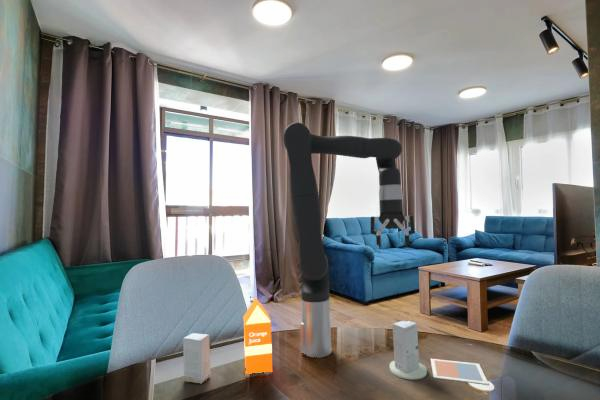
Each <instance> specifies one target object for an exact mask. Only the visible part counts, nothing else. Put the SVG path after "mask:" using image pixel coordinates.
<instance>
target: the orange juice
mask: <svg viewBox="0 0 600 400" xmlns="http://www.w3.org/2000/svg"><path fill="white" fill-rule="evenodd" d="M243 339H244V340H243V341H244V342H243V345H244V369H245V368H246V371H245V375H246V374H252V373H262V372H264V373H265V372H273V346H272V345H273V344H272V343H273V342H272V321H271V318H270V315H269V313H268V311H267V310H266V309H265V308H264V306H263V305H262V303H261V302H260V300H259V299H257V297H256V296H255V298H254V299H253V301H252V302H251V303H250V306H249V307H248V309H247V310H246V312H245V314H244V315H243Z"/></svg>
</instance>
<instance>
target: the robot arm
mask: <svg viewBox="0 0 600 400" xmlns="http://www.w3.org/2000/svg"><path fill="white" fill-rule="evenodd" d="M282 139H283V144H284V145H283V146H284V147H285V150H286V151H287V152H286V153H287V157H288V162H289V168H290V173H289V174H290V177H289V178H290V179H289V180H290V181H289V183H290V184H289V188H290V198H291V207H292V213H293V218H294V223H295V227H296V231H297V237H298V247H299V249H298V250H299V270H300V273H301V290H300V293H301V294H300V295H301V318H302V319H301V321H302V322H301V323H300V348H301V353H304V354H303V355H305V354H306V355H305V356H307V357H308V358H309V357H310V358H314V357H315V358H314V359H319V358H320V359H321V358H324V357H327V356H330V354H331V353H332V332H331V331H332V329H331V328H332V327H331V308H330V305H331V303H330V279H329V262H328V257H327V255H326V252H325V248H324V244H323V239H322V231H321V230H322V227H321V226H322V225H321V223H322V216H321V215H322V214H321V212H322V211H321V202H320V195H319V190H318V189H319V188H318V183H317V180H316V174H315V170H314V167H313V159H312V158H313V156H312V155H313V154H317V155H318V154H320V155H321V154H322V155H323V154H324V155H331V156H333V155H334V156H343V157H349V158H350V157H351V158H357V159H358V158H359V159H369V158H375V163H376V166H377V171H378V181H379V182H378V184H379V186H378V187H379V188H378V189H379V190H378V200H379V203H378V204H379V216H371V217H370V234H371V235H374V236H375V238H376V240H375V241H376V245H377V246H378V248H382V237H381V234H382V232H383V231H384V230H385V229H387V230H390V229H395V230H397V229H400V230H401V231H402V232H403V233H404V246H405V248H408V246H410V243H411V242H410V236H411V235H413V234H415V232H416V231H415V223H414V216H413V215H411V214H410V215H406V216H405V215H404V207H403V205H404V204H403V191H402V190H403V189H402V185H401V183H402V182H401V181H402V180H401V172H400V169H399V168H397V163H396V161H397V160H396V159H397V158H399V156H400V155H401V154H402V151H403V146H402V144H401V142H399V141H398V140H397V139H395V138H390V137H372V138H371V137H370V138H369V137H363V136H354V135H335V136H334V135H331V136H327V135H325V136H324V135H316V134H313V133H311V131H310V129H309V128H308V126H306V125H305V124H304V123H302V122H292V123H291V124H289V125H288V126H287V127H286V129H285V130H284V132H283V138H282ZM405 220H406V221H407V223H409V227H410V229H409V230H407V229H406V227H405V226H404V225H403V222H404V221H405ZM378 221H379V222H380V223H381V226H380V227H379V229H378V230H377V231H376V228H375V227H376V223H378ZM316 357H317V358H316Z"/></svg>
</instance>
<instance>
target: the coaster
mask: <svg viewBox="0 0 600 400" xmlns="http://www.w3.org/2000/svg"><path fill="white" fill-rule="evenodd" d="M419 364H420V366H419V367H418V368H416V369H414V370H412V371H409V372H407V373H406V372H404V371H402V370H399V369H397V368H396V367H395V362H394V360H392V361H390V363H389V371H390V373H392V374H393V375H395V376H396V377H398V378H401V379H405V380H410V381H411V380H412V381H414V380H421V379H423V378H425V377H426V376H427V374H428V370H427V367H426V366H425V365H424V364H422V363H421V362H420V361H419Z"/></svg>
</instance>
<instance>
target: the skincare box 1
mask: <svg viewBox="0 0 600 400" xmlns="http://www.w3.org/2000/svg"><path fill="white" fill-rule="evenodd" d="M182 345H183V350H182V351H183V376H184V375H185V376H187V377H191V378H193V379H196V380H200V381H202V380H203V379H205V378H206V377H207V376H208V375H209V374H210V375H211V352H210V351H211V350H210V349H211V346H210V335H209V334H207V333H206V334H205V333H197V332H196V333H195V332H191V333H190V334H188V335H187V336H185V337H183V338H182Z"/></svg>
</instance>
